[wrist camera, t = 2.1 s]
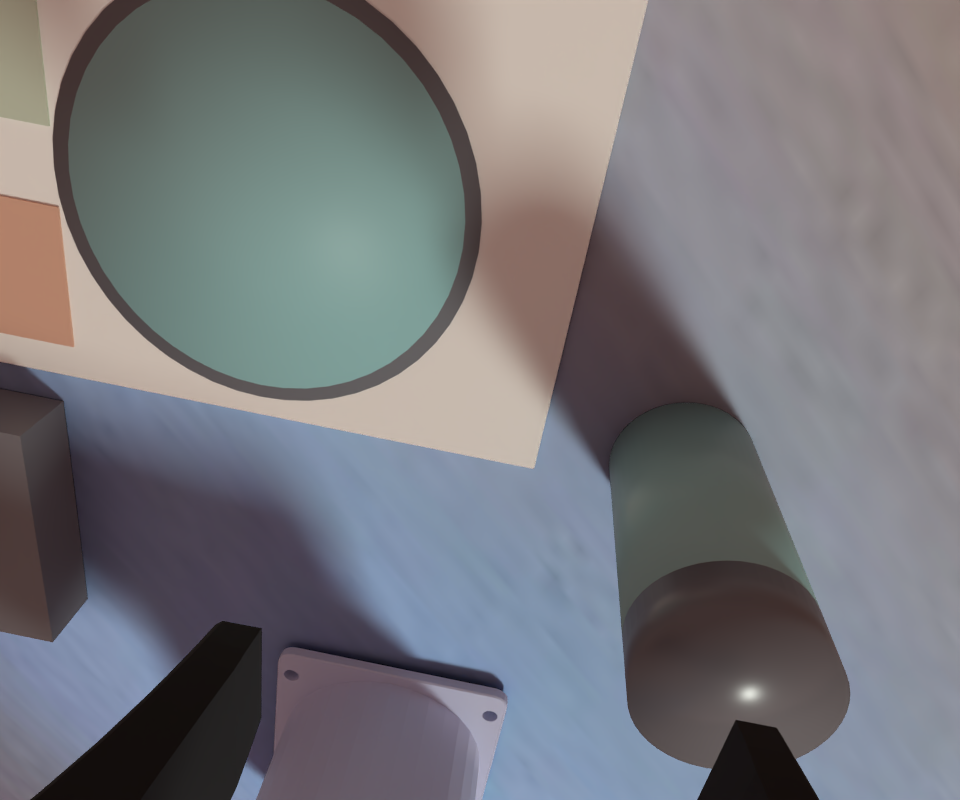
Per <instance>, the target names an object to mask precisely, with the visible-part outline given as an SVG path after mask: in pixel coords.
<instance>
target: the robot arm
mask: <svg viewBox="0 0 960 800" xmlns="http://www.w3.org/2000/svg"><path fill="white" fill-rule="evenodd" d="M261 664H262V628H256V627H251V626H246V625H241V624H236V623H230V622H225V621H222V622H220V623H218V624H216V625H215V626H214V627H213V628H212V629H211V630H210V631H209V632H208V633H207V635H206V636H205V637H204V638H203V639H202V640H201V641H200V642H199V643H198V644H197V645H196V646H195V647H194V648H193V649H192V650H191V652H190V653H189V654H188V655H187V656H186V657H185V658H184V659H183V660H182V661H181V662H180V663H179V664H178V665H177V666H176V667H175V668H174V669H173V670H172V671H171V672H170V673H169V674H168V675H167V676H166V677H165V678H164V679H163V680H162V681H161V682H160V683H159V684H158V685H157V686H156V687H155V688H154V689H153V690H152V691H151V692H150V693H149V694H148V695H147V696H146V697H145V698H144V699H143V700H142V701H141V702H140V703H139V704H137V705H136V706H135V707H134V708H133V709H132V710H131V711H130V712H129V713H128V714H127V715H126V716H125V717H124V718H123V719H122V720H121V721H119V722H118V723H117V724H116V725H115V726H114V727H113V728H112V729H111V730H110V731H109V732H108V733H107V734H106V735H105V736H103V737H102V738H101V739H100V740H99V741H98V742H97V743H96V744H95V745H94V746H92V747H91V748H90V749H89V750H88V751H87V752H85V753H84V754H83V755H82V756H81V757H80V758H79V759H77V760H76V761H75V762H74V763H73V764H72V765H70V766H69V767H68V768H67V769H66V770H65V771H64V772H62V773H61V774H60V775H59V776H58V777H57V778H55V779H54V780H53V781H52V782H51V783H50V784H49V785H47V786H46V787H45V788H44V789H43V790H42V791H40V792H39V793H38V794H37V795H36V796H34V797H33V798H32V799H31V800H231V798H232V796H233V794H234V791H235V789H236V787H237V785H238V782H239V779H240V776H241V774H242V771H243V768H244V765H245V763H246V760H247V757H248V754H249V752H250V749H251V746H252V743H253V740H254V737H255V734H256V731H257V729H258V726H259V723H260V720H261ZM292 670H293V671H292ZM294 671H295V672H294ZM506 710H507V696H506V694H505V693H504V692H503V691H501V690H499V689H496V688H491V687H487V686H482V685H477V684H472V683H467V682H462V681H457V680H453V679H448V678H443V677H438V676H433V675H428V674H423V673H418V672H414V671H409V670H404V669H399V668H394V667H389V666H384V665H380V664H375V663H370V662H365V661H360V660H355V659H350V658H345V657H341V656H336V655H331V654H326V653H321V652H316V651H311V650H306V649H302V648H297V647H289V648H286V649H284V650H283V651H282V653H281V655H280V658H279V661H278V676H277V697H276V717H275V738H274V755H273V758H272V760H271V763H270V765H269V768H268V770H267V773H266V775H265V778H264V781H263V783H262V786H261V788H260V791H259V793H258V796H257V798H256V800H482V797H483V793H484V790H485V786H486V783H487V779H488V775H489V772H490V768H491V764H492V761H493V757H494V753H495V750H496V746H497V742H498V739H499V735H500V732H501V728H502V724H503V721H504V717H505V713H506ZM489 711H492V712H489ZM697 800H819V798H818V797H817V795H816V793H815V792H814V790H813V788H812V786H811V785H810V783H809V781H808V780H807V778H806V776H805V774H804V773H803V771H802V769H801V768H800V766H799V764H798V762H797V761H796V759H795V757H794V756H793V754H792V752H791V750H790V749H789V747H788V745H787V743H786V742H785V740H784V738H783V737H782V735H781V733H780V732H779V730H778V729H777V728H776V727H771V726H766V725H761V724H755V723H750V722H745V721H740V720H735V722H734V724H733V726H732V728H731V730H730V733H729V735H728V737H727V739H726V741H725V743H724V745H723V747H722V749H721V751H720V753H719V756H718V758H717V760H716V762H715V764H714V766H713V768H712V770H711V772H710V774H709V776H708V779H707V781H706V783H705V785H704V787H703V789H702V791H701V793H700V795H699V797H698V799H697Z"/></svg>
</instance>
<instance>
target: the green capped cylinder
mask: <svg viewBox="0 0 960 800" xmlns="http://www.w3.org/2000/svg"><path fill="white" fill-rule="evenodd" d="M609 472H610V485H611V498H612V511H613V524H614V537H615V550H616V562H617V575H618V588H619V601H620V614H621V627H622V639H623V652H624V665H625V678H626V691H627V702H628V709H629V713H630V716H631V718H632V720H633V722H634V724H635V726H636V728H637V729H638V730H639V732H640V733H641V734H642V735H643V736H644V737H645V738H646V739H647V741H648V742H650V743H651V744H652V745H654V746H655V747H656V748H657V749H659V750H661V751H662V752H664V753H666V754H667V755H669V756H671V757H673V758H676V759H678V760H680V761H683V762H686V763H689V764H692V765H696V766H700V767H705V768H711V769H712V768H713V766H714V764H715V762H716V760H717V758H718V756H719V753H720V751H721V749H722V747H723V745H724V743H725V741H726V739H727V737H728V735H729V733H730V730H731V728H732V726H733V724H734V722H735V720H740V721H745V722H750V723H755V724H761V725H766V726H771V727H776V728H777V729H778V730H779V732H780V733H781V735H782V737H783V738H784V740H785V742H786V743H787V745H788V747H789V749H790V750H791V752H792V754H793V756H794V757H795V759H796V758H798V757H800V756H803V755H805V754H807V753H809V752H810V751H812V750H813V749H815V748H817V747H818V746H819V745H821V744H822V743H823V742H825V741H826V740H827V739H828V738H829V737H830V736H831V735H832V734H833V733H834V732H835V731H836V729H837V728H838V727H839V725H840V724H841V723H842V721H843V719H844V717H845V715H846V713H847V709H848V706H849V701H850V687H849V681H848V678H847V675H846V672H845V670H844V667H843V665H842V662H841V660H840V657H839V655H838V652H837V650H836V647H835V645H834V642H833V640H832V637H831V635H830V632H829V630H828V627H827V625H826V622H825V620H824V617H823V615H822V612H821V610H820V608H819V605H818V603H817V600H816V598H815V595H814V593H813V590H812V588H811V585H810V583H809V580H808V578H807V575H806V573H805V570H804V568H803V565H802V563H801V560H800V558H799V555H798V553H797V550H796V548H795V545H794V543H793V541H792V538H791V536H790V533H789V531H788V528H787V526H786V523H785V521H784V518H783V516H782V513H781V511H780V508H779V506H778V503H777V501H776V498H775V496H774V493H773V491H772V488H771V486H770V483H769V481H768V478H767V476H766V474H765V471H764V469H763V466H762V464H761V461H760V459H759V456H758V454H757V451H756V449H755V446H754V444H753V441H752V439H751V437H750V435H749V433H748V432H747V431H746V429H745V428H744V427H743V425H742V424H741V423H740V422H739V421H738V420H736V419H735V418H734V417H732V416H731V415H730V414H728V413H726V412H724V411H722V410H720V409H717V408H715V407H712V406H708V405H704V404H698V403H674V404H669V405H664V406H661V407H658V408H655V409H652V410H650V411H648V412H646V413H644V414H642V415H641V416H639V417H637V418H636V419H635V420H633V421H632V422H631V423H630V424H629V425H628V426H627V427H626V428H625V429H624V430H623V431H622V432H621V434H620V435H619V436H618V438H617V440H616V441H615V443H614V446H613V448H612V451H611V455H610V460H609Z"/></svg>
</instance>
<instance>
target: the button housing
mask: <svg viewBox="0 0 960 800" xmlns="http://www.w3.org/2000/svg"><path fill="white" fill-rule="evenodd" d="M87 599H88V598H87V589H86V581H85V573H84V565H83V557H82V549H81V541H80V532H79V524H78V516H77V508H76V500H75V492H74V483H73V475H72V467H71V459H70V451H69V443H68V435H67V426H66V418H65V410H64V402H63V401H59V400H54V399H49V398H44V397H39V396H34V395H29V394H24V393H19V392H14V391H9V390H4V389H0V631H1V632H6V633H11V634H16V635H20V636H25V637H30V638H35V639H40V640H45V641H50V642H53V641H54V640H55V639H56V638H57V636H58V635H59V634H60V633H61V631H62V630H63V629H64V628H65V626H66V625H67V624H68V623H69V621H70V620H71V619H72V618H73V616H74V615H75V614H76V613H77V611H78V610H79V609H80V608H81V606H82V605H83V604H84V603H85V601H86V600H87Z"/></svg>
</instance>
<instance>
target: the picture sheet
mask: <svg viewBox="0 0 960 800" xmlns="http://www.w3.org/2000/svg"><path fill="white" fill-rule="evenodd" d="M647 3H648V0H0V362H4V363H9V364H14V365H19V366H24V367H29V368H34V369H39V370H44V371H49V372H54V373H59V374H63V375H68V376H73V377H78V378H83V379H88V380H93V381H98V382H103V383H108V384H113V385H118V386H123V387H128V388H133V389H138V390H143V391H148V392H153V393H158V394H163V395H168V396H173V397H178V398H183V399H188V400H193V401H198V402H203V403H208V404H213V405H218V406H223V407H228V408H233V409H238V410H243V411H248V412H253V413H258V414H263V415H268V416H273V417H278V418H283V419H288V420H293V421H298V422H303V423H308V424H313V425H318V426H323V427H328V428H333V429H338V430H343V431H348V432H353V433H357V434H362V435H367V436H372V437H377V438H382V439H387V440H392V441H397V442H402V443H407V444H412V445H417V446H422V447H427V448H432V449H437V450H442V451H447V452H452V453H457V454H462V455H467V456H472V457H477V458H482V459H487V460H492V461H497V462H502V463H507V464H512V465H517V466H522V467H527V468H532V469H534V467H535V462H536V458H537V454H538V450H539V446H540V442H541V438H542V434H543V430H544V426H545V421H546V417H547V413H548V409H549V405H550V401H551V397H552V393H553V389H554V385H555V380H556V376H557V372H558V368H559V364H560V360H561V356H562V352H563V348H564V344H565V339H566V335H567V331H568V327H569V323H570V319H571V315H572V311H573V307H574V303H575V298H576V294H577V290H578V286H579V282H580V278H581V274H582V270H583V266H584V262H585V257H586V253H587V249H588V245H589V241H590V237H591V233H592V229H593V225H594V220H595V216H596V212H597V208H598V204H599V200H600V196H601V192H602V188H603V184H604V179H605V175H606V171H607V167H608V163H609V159H610V155H611V151H612V147H613V143H614V138H615V134H616V130H617V126H618V122H619V118H620V114H621V110H622V106H623V102H624V97H625V93H626V89H627V85H628V81H629V77H630V73H631V69H632V65H633V61H634V56H635V52H636V48H637V44H638V40H639V36H640V32H641V28H642V24H643V20H644V15H645V11H646V7H647Z"/></svg>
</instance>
